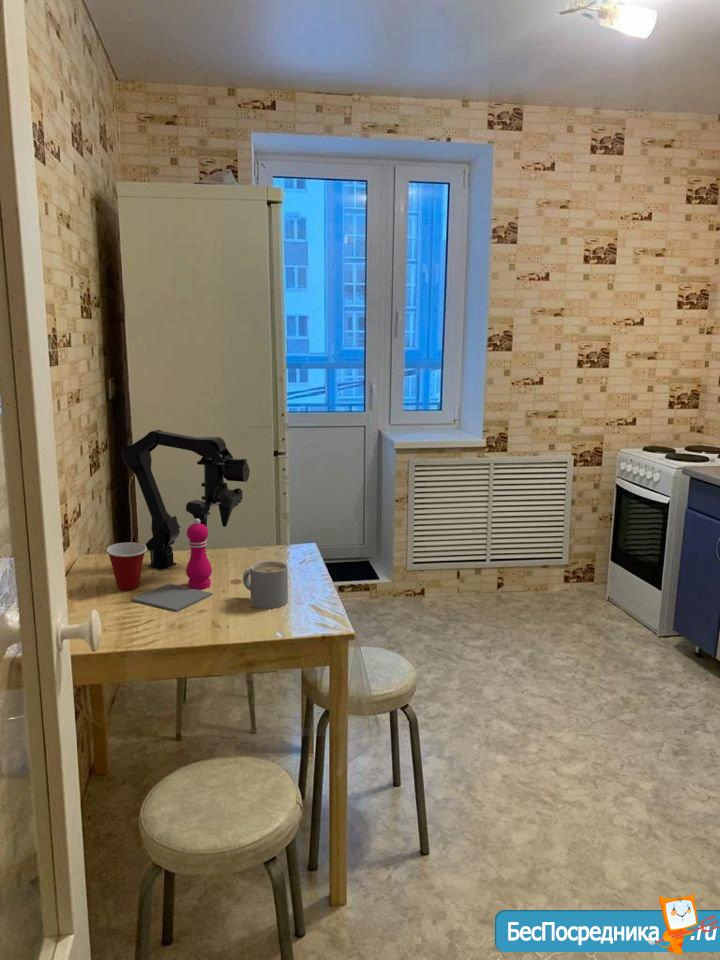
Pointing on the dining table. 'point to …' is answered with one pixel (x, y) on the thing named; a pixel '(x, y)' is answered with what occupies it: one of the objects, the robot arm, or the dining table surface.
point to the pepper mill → (198, 557)
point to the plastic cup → (127, 564)
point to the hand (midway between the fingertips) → (214, 529)
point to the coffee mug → (267, 584)
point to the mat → (172, 597)
